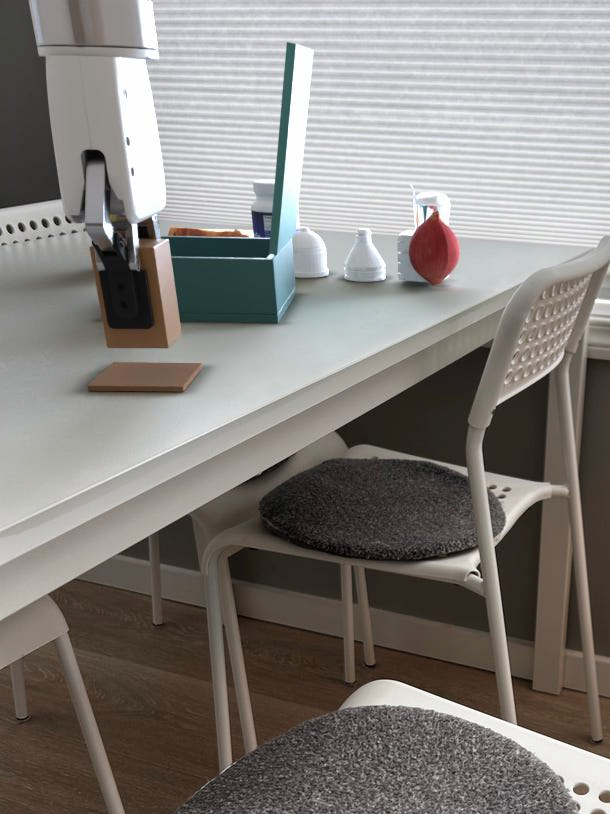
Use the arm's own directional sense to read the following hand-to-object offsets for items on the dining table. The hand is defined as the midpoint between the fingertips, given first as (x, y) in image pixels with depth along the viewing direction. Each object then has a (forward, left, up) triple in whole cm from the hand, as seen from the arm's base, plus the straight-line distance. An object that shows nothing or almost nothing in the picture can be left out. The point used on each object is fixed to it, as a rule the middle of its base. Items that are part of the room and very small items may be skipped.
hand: (140, 317), depth 71 cm
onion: (+22, +41, -5) cm, 47 cm away
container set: (+14, +47, -5) cm, 49 cm away
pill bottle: (+3, +52, -5) cm, 52 cm away
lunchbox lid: (+8, +28, +10) cm, 31 cm away
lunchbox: (-1, +28, -5) cm, 28 cm away
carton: (0, 0, -2) cm, 2 cm away
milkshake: (+22, +52, -5) cm, 57 cm away
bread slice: (-5, +65, -5) cm, 65 cm away
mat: (0, 0, -5) cm, 5 cm away
